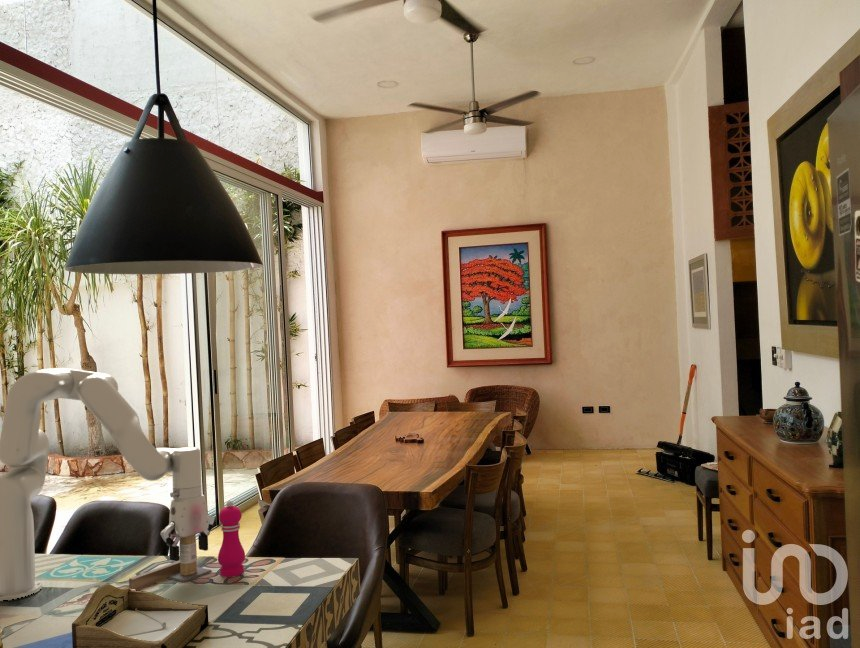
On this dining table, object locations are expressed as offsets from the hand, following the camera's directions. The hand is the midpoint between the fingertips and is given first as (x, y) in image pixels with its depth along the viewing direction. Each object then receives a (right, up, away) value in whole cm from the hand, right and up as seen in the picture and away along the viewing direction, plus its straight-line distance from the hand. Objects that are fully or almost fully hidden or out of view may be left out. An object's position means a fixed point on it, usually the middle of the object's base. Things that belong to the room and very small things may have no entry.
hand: (189, 554), depth 189 cm
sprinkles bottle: (0, -5, 0) cm, 5 cm away
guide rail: (-7, -6, -3) cm, 10 cm away
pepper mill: (+12, -5, 0) cm, 13 cm away
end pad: (0, -5, 0) cm, 5 cm away
